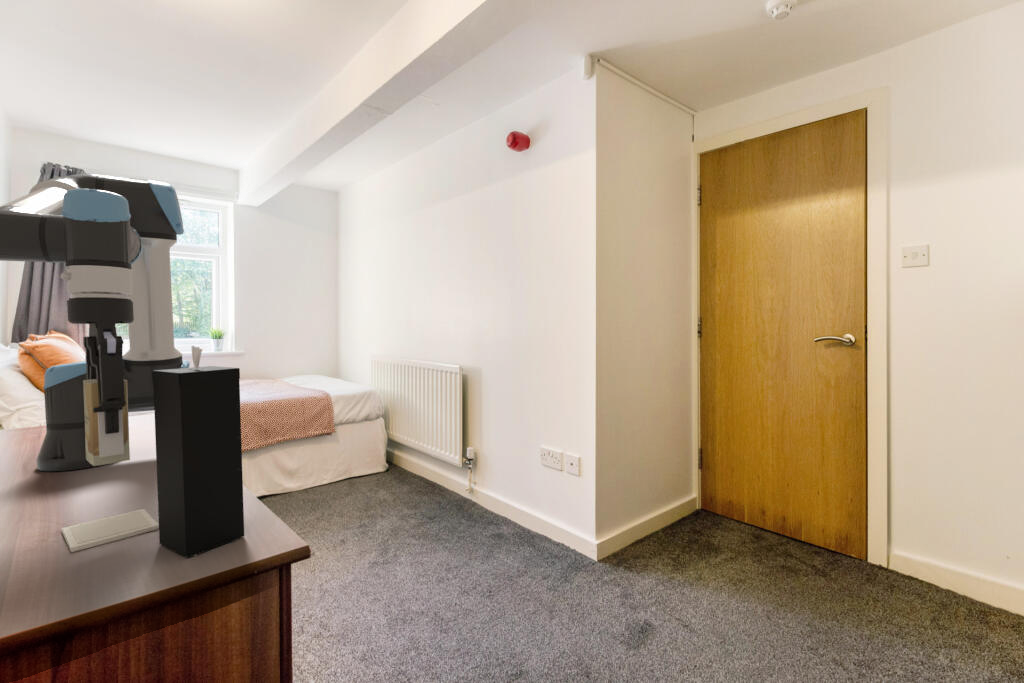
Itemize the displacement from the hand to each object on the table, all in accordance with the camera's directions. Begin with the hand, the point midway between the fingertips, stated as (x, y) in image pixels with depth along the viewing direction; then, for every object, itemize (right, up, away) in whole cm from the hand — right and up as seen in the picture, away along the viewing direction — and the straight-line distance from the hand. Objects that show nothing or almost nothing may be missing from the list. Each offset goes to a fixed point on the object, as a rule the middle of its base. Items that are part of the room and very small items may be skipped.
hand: (107, 450), depth 73 cm
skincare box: (0, -2, 0) cm, 2 cm away
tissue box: (+17, -12, -3) cm, 21 cm away
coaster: (0, -12, +1) cm, 12 cm away
